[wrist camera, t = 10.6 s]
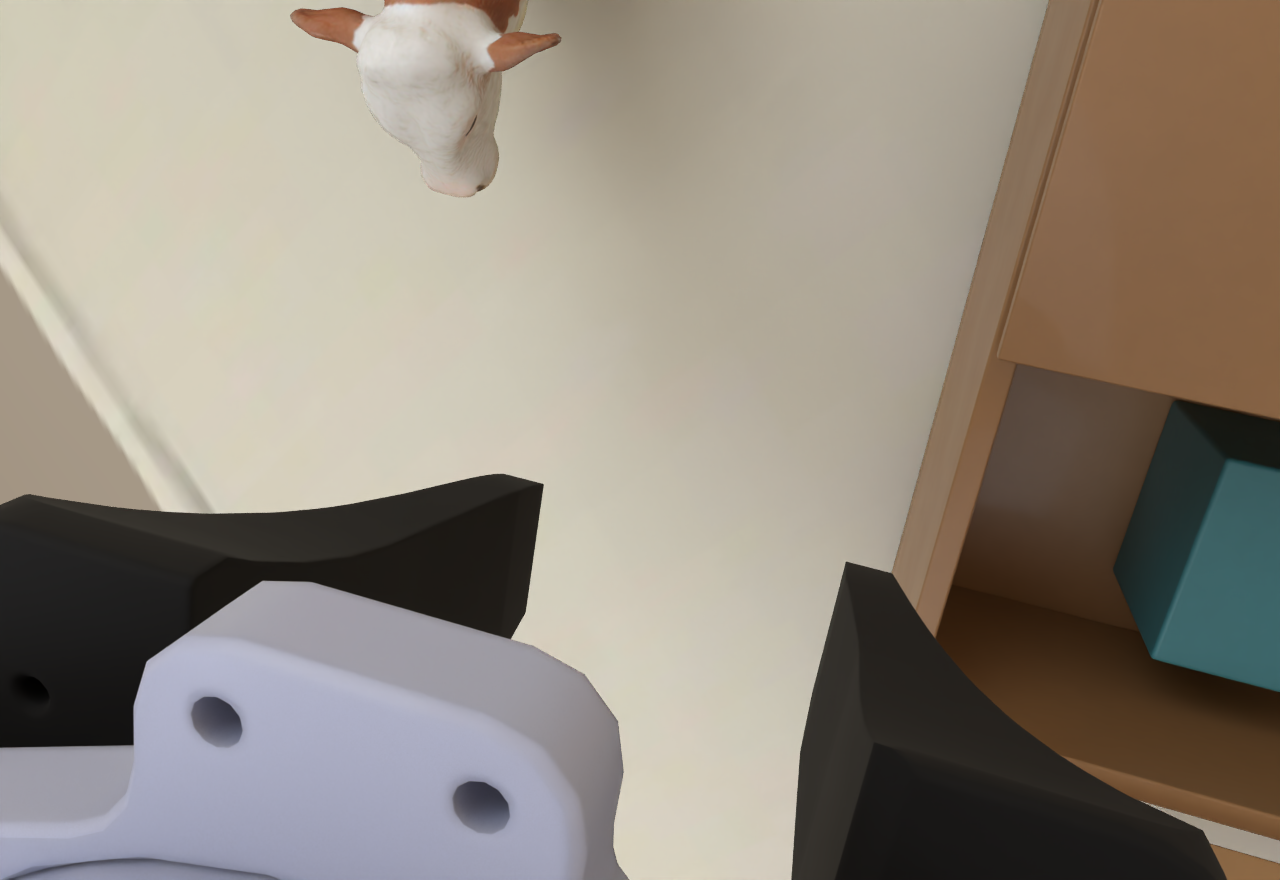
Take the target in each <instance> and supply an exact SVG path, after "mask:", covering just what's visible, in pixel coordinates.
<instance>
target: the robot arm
mask: <svg viewBox="0 0 1280 880" xmlns="http://www.w3.org/2000/svg"><path fill="white" fill-rule="evenodd" d="M543 486H544V484H541V483H537V482H533V481H529V480H526V479H522V478H518V477H514V476H510V475H506V474H492V475H485V476H479V477H474V478H469V479H465V480H460V481H456V482H452V483H448V484H443V485H439V486H435V487H431V488H426V489H422V490H418V491H414V492H409V493H405V494H400V495H395V496H390V497H385V498H379V499H374V500H369V501H364V502H359V503H354V504H348V505H342V506H335V507H328V508H320V509H310V510H299V511H289V512H275V513H228V514H199V513H177V512H161V511H149V510H136V509H126V508H117V507H109V506H101V505H94V504H88V503H81V502H75V501H68V500H61V499H54V498H47V497H42V496H36V495H31V494H28V495H23V496H21V497H18V498H16V499H13V500H11V501H9V502H6V503H4V504H2V505H0V880H629V879H628V877H627V876H626V875H625V873H624V872H623V871H622V869H621V868H620V867H619V865H618V863H617V860H616V856H615V852H614V848H613V835H614V820H615V815H616V810H617V804H618V799H619V794H620V788H621V783H622V778H623V773H624V771H623V762H622V753H621V744H620V735H619V726H618V721H617V719H616V718H615V716H614V715H613V714H612V712H611V711H610V709H609V708H608V707H607V705H606V704H605V702H604V701H603V700H602V698H601V697H600V695H599V694H598V693H597V691H596V690H595V688H594V687H593V686H592V684H591V683H590V681H589V680H588V679H587V677H586V676H585V674H583V673H581V672H579V671H577V670H576V669H574V668H572V667H570V666H568V665H567V664H565V663H563V662H561V661H559V660H558V659H556V658H554V657H552V656H550V655H549V654H547V653H545V652H543V651H541V650H540V649H538V648H536V647H534V646H532V645H528V644H525V643H521V642H518V641H514V640H511V638H512V636H513V634H514V632H515V630H516V629H517V627H518V625H519V623H520V621H521V619H522V618H523V616H524V614H525V612H526V606H527V599H528V592H529V585H530V578H531V570H532V563H533V556H534V549H535V542H536V535H537V528H538V521H539V514H540V507H541V500H542V493H543ZM792 880H1227V878H1226V875H1225V873H1224V871H1223V869H1222V867H1221V865H1220V863H1219V861H1218V859H1217V857H1216V855H1215V853H1214V851H1213V849H1212V847H1211V845H1210V843H1209V841H1208V840H1207V838H1206V836H1205V834H1204V832H1203V831H1202V830H1200V829H1198V828H1196V827H1194V826H1192V825H1190V824H1188V823H1185V822H1183V821H1181V820H1179V819H1177V818H1175V817H1173V816H1170V815H1168V814H1166V813H1164V812H1162V811H1160V810H1158V809H1155V808H1153V807H1151V806H1149V805H1147V804H1145V803H1143V802H1140V801H1138V800H1136V799H1134V798H1132V797H1130V796H1128V795H1126V794H1124V793H1122V792H1120V791H1119V790H1117V789H1115V788H1113V787H1112V786H1110V785H1108V784H1107V783H1105V782H1103V781H1101V780H1100V779H1098V778H1096V777H1094V776H1093V775H1091V774H1089V773H1087V772H1086V771H1084V770H1082V769H1081V768H1079V767H1078V766H1076V765H1075V764H1073V763H1071V762H1070V761H1068V760H1067V759H1065V758H1064V757H1062V756H1061V755H1059V754H1058V753H1056V752H1055V751H1053V750H1052V749H1051V748H1049V747H1048V746H1046V745H1045V744H1044V743H1042V742H1041V741H1040V740H1038V739H1037V738H1036V737H1034V736H1033V735H1032V734H1030V733H1029V732H1027V731H1026V730H1025V729H1023V728H1022V727H1021V726H1020V725H1018V724H1017V723H1016V722H1015V721H1014V720H1012V719H1011V718H1010V717H1009V716H1008V715H1006V714H1005V713H1004V712H1003V711H1002V710H1001V709H1000V708H999V707H998V706H997V705H995V704H994V703H993V702H992V701H991V700H990V699H989V698H988V697H987V696H986V695H985V694H984V693H983V692H981V691H980V690H979V689H978V688H977V687H976V686H975V685H974V683H973V682H972V681H971V680H970V679H969V678H968V677H967V676H966V675H965V674H964V673H963V672H962V670H961V669H960V668H959V667H958V666H957V665H956V663H955V662H954V661H953V660H952V659H951V658H950V656H949V655H948V654H947V653H946V652H945V650H944V649H943V648H942V647H941V645H940V644H939V643H938V641H937V640H936V639H935V637H934V636H933V635H932V633H931V632H930V631H929V629H928V628H927V626H926V625H925V624H924V622H923V621H922V619H921V618H920V616H919V615H918V613H917V612H916V610H915V609H914V607H913V606H912V604H911V603H910V601H909V599H908V598H907V596H906V595H905V593H904V591H903V590H902V588H901V586H900V585H899V583H898V582H897V580H896V578H895V577H894V575H893V574H892V573H888V572H884V571H881V570H877V569H873V568H869V567H865V566H861V565H857V564H853V563H849V562H846V564H845V568H844V572H843V576H842V579H841V583H840V587H839V591H838V595H837V599H836V603H835V607H834V611H833V615H832V618H831V622H830V626H829V630H828V634H827V638H826V642H825V646H824V650H823V653H822V657H821V661H820V665H819V669H818V673H817V677H816V681H815V685H814V688H813V692H812V697H811V702H810V707H809V712H808V716H807V721H806V726H805V731H804V736H803V741H802V746H801V751H800V763H799V777H798V791H797V805H796V820H795V835H794V850H793V865H792Z"/></svg>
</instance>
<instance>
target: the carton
mask: <svg viewBox="0 0 1280 880" xmlns="http://www.w3.org/2000/svg"><path fill="white" fill-rule="evenodd" d="M1174 401H1183V402H1188V403H1192V404H1197V405H1202V406H1206V407H1211V408H1216V409H1220V410H1225V411H1230V412H1234V413H1239V414H1244V415H1248V416H1253V417H1258V418H1262V419H1267V420H1272V421H1276V422H1280V0H1049V3H1048V6H1047V10H1046V14H1045V17H1044V21H1043V24H1042V28H1041V32H1040V35H1039V39H1038V43H1037V46H1036V50H1035V54H1034V57H1033V61H1032V64H1031V68H1030V72H1029V75H1028V79H1027V83H1026V86H1025V90H1024V94H1023V97H1022V101H1021V104H1020V108H1019V112H1018V115H1017V119H1016V123H1015V126H1014V130H1013V134H1012V137H1011V141H1010V144H1009V148H1008V152H1007V155H1006V159H1005V163H1004V166H1003V170H1002V174H1001V177H1000V181H999V185H998V188H997V192H996V195H995V199H994V203H993V206H992V210H991V214H990V217H989V221H988V225H987V228H986V232H985V235H984V239H983V243H982V246H981V250H980V254H979V257H978V261H977V265H976V268H975V272H974V275H973V279H972V283H971V286H970V290H969V294H968V297H967V301H966V305H965V308H964V312H963V315H962V319H961V323H960V326H959V330H958V334H957V337H956V341H955V345H954V348H953V352H952V355H951V359H950V363H949V366H948V370H947V374H946V377H945V381H944V385H943V388H942V392H941V395H940V399H939V403H938V406H937V410H936V414H935V417H934V421H933V425H932V428H931V432H930V436H929V439H928V443H927V446H926V450H925V454H924V457H923V461H922V465H921V468H920V472H919V476H918V479H917V483H916V486H915V490H914V494H913V497H912V501H911V505H910V508H909V512H908V516H907V519H906V523H905V526H904V530H903V534H902V537H901V541H900V545H899V548H898V552H897V556H896V559H895V563H894V566H893V570H892V574H893V575H894V577H895V578H896V580H897V582H898V583H899V585H900V586H901V588H902V590H903V591H904V593H905V595H906V596H907V598H908V599H909V601H910V603H911V604H912V606H913V607H914V609H915V610H916V612H917V613H918V615H919V616H920V618H921V619H922V621H923V622H924V624H925V625H926V626H927V628H928V629H929V631H930V632H931V633H932V635H933V636H934V637H935V639H936V640H937V641H938V643H939V644H940V645H941V647H942V648H943V649H944V650H945V652H946V653H947V654H948V655H949V656H950V658H951V659H952V660H953V661H954V662H955V663H956V665H957V666H958V667H959V668H960V669H961V670H962V672H963V673H964V674H965V675H966V676H967V677H968V678H969V679H970V680H971V681H972V682H973V683H974V685H975V686H976V687H977V688H978V689H979V690H980V691H981V692H983V693H984V694H985V695H986V696H987V697H988V698H989V699H990V700H991V701H992V702H993V703H994V704H995V705H997V706H998V707H999V708H1000V709H1001V710H1002V711H1003V712H1004V713H1005V714H1006V715H1008V716H1009V717H1010V718H1011V719H1012V720H1014V721H1015V722H1016V723H1017V724H1018V725H1020V726H1021V727H1022V728H1023V729H1025V730H1026V731H1027V732H1029V733H1030V734H1032V735H1033V736H1034V737H1036V738H1037V739H1038V740H1040V741H1041V742H1042V743H1044V744H1045V745H1046V746H1048V747H1049V748H1051V749H1052V750H1053V751H1055V752H1056V753H1058V754H1059V755H1061V756H1062V757H1064V758H1065V759H1067V760H1068V761H1070V762H1071V763H1073V764H1075V765H1076V766H1078V767H1079V768H1081V769H1082V770H1084V771H1086V772H1087V773H1089V774H1091V775H1093V776H1094V777H1096V778H1098V779H1100V780H1101V781H1103V782H1105V783H1107V784H1108V785H1110V786H1112V787H1113V788H1115V789H1117V790H1119V791H1120V792H1122V793H1124V794H1126V795H1128V796H1130V797H1132V798H1134V799H1136V800H1139V801H1143V802H1146V803H1150V804H1153V805H1157V806H1160V807H1164V808H1167V809H1171V810H1174V811H1178V812H1181V813H1185V814H1188V815H1192V816H1195V817H1199V818H1202V819H1206V820H1209V821H1213V822H1216V823H1220V824H1223V825H1227V826H1230V827H1234V828H1237V829H1241V830H1244V831H1248V832H1251V833H1255V834H1258V835H1262V836H1265V837H1269V838H1272V839H1276V840H1280V692H1277V691H1273V690H1270V689H1266V688H1262V687H1258V686H1254V685H1250V684H1246V683H1243V682H1239V681H1235V680H1231V679H1227V678H1223V677H1220V676H1216V675H1212V674H1208V673H1204V672H1200V671H1196V670H1193V669H1189V668H1185V667H1181V666H1177V665H1173V664H1170V663H1166V662H1162V661H1158V660H1155V659H1153V658H1151V656H1150V654H1149V652H1148V650H1147V647H1146V645H1145V643H1144V640H1143V638H1142V636H1141V634H1140V631H1139V629H1138V627H1137V625H1136V622H1135V620H1134V618H1133V615H1132V613H1131V611H1130V609H1129V606H1128V604H1127V602H1126V599H1125V597H1124V595H1123V593H1122V590H1121V588H1120V586H1119V583H1118V581H1117V579H1116V577H1115V574H1114V572H1113V568H1114V565H1115V562H1116V559H1117V556H1118V554H1119V551H1120V548H1121V545H1122V542H1123V540H1124V537H1125V534H1126V531H1127V528H1128V526H1129V523H1130V520H1131V517H1132V514H1133V512H1134V509H1135V506H1136V503H1137V500H1138V498H1139V495H1140V492H1141V489H1142V486H1143V484H1144V481H1145V478H1146V475H1147V472H1148V470H1149V467H1150V464H1151V461H1152V458H1153V456H1154V453H1155V450H1156V447H1157V444H1158V442H1159V439H1160V436H1161V433H1162V430H1163V428H1164V425H1165V422H1166V419H1167V416H1168V414H1169V411H1170V408H1171V405H1172V403H1173V402H1174Z"/></svg>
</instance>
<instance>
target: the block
mask: <svg viewBox="0 0 1280 880" xmlns="http://www.w3.org/2000/svg"><path fill="white" fill-rule="evenodd" d="M1113 572H1114V574H1115V577H1116V579H1117V581H1118V583H1119V586H1120V588H1121V590H1122V593H1123V595H1124V597H1125V599H1126V602H1127V604H1128V606H1129V609H1130V611H1131V613H1132V615H1133V618H1134V620H1135V622H1136V625H1137V627H1138V629H1139V631H1140V634H1141V636H1142V638H1143V640H1144V643H1145V645H1146V647H1147V650H1148V652H1149V654H1150V656H1151V658H1153V659H1155V660H1158V661H1162V662H1166V663H1170V664H1173V665H1177V666H1181V667H1185V668H1189V669H1193V670H1196V671H1200V672H1204V673H1208V674H1212V675H1216V676H1220V677H1223V678H1227V679H1231V680H1235V681H1239V682H1243V683H1246V684H1250V685H1254V686H1258V687H1262V688H1266V689H1270V690H1273V691H1277V692H1280V422H1276V421H1272V420H1267V419H1262V418H1258V417H1253V416H1248V415H1244V414H1239V413H1234V412H1230V411H1225V410H1220V409H1216V408H1211V407H1206V406H1202V405H1197V404H1192V403H1188V402H1183V401H1174V402H1173V403H1172V405H1171V408H1170V411H1169V414H1168V416H1167V419H1166V422H1165V425H1164V428H1163V430H1162V433H1161V436H1160V439H1159V442H1158V444H1157V447H1156V450H1155V453H1154V456H1153V458H1152V461H1151V464H1150V467H1149V470H1148V472H1147V475H1146V478H1145V481H1144V484H1143V486H1142V489H1141V492H1140V495H1139V498H1138V500H1137V503H1136V506H1135V509H1134V512H1133V514H1132V517H1131V520H1130V523H1129V526H1128V528H1127V531H1126V534H1125V537H1124V540H1123V542H1122V545H1121V548H1120V551H1119V554H1118V556H1117V559H1116V562H1115V565H1114V568H1113Z"/></svg>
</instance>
